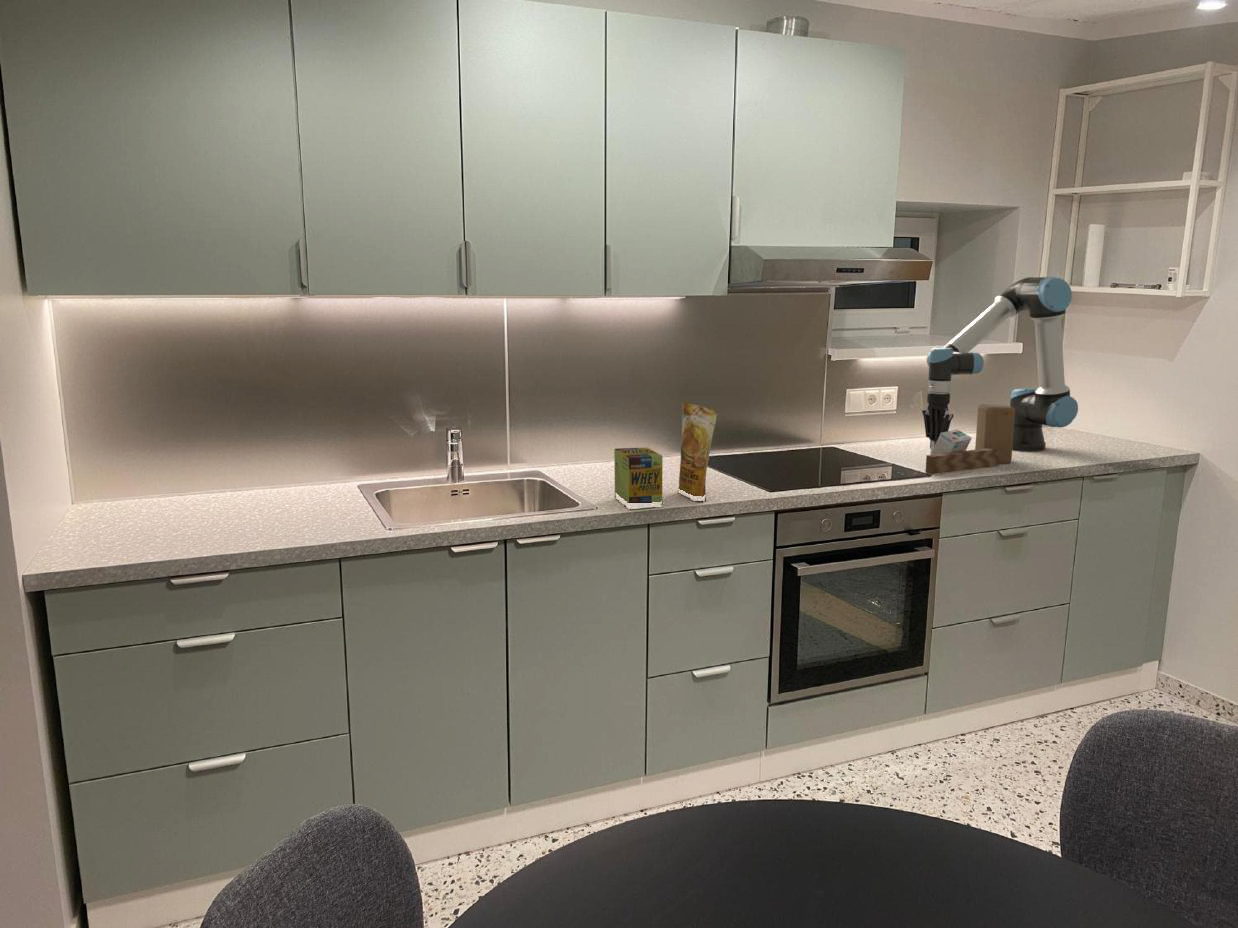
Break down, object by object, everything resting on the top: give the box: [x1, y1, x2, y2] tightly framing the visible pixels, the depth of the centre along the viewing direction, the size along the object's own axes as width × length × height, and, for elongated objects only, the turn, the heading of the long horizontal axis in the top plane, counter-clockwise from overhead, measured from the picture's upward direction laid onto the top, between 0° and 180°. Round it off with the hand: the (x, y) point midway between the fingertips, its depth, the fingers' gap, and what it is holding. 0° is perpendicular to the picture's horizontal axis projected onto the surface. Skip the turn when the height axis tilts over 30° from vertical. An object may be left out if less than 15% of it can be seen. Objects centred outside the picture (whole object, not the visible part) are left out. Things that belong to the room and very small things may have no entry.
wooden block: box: [974, 403, 1015, 465], centre depth 328 cm, size 10×10×20 cm
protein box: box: [613, 446, 664, 503], centre depth 272 cm, size 10×15×16 cm
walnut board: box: [925, 448, 999, 475], centre depth 316 cm, size 30×3×6 cm, turn 115°
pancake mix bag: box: [678, 401, 719, 497], centre depth 278 cm, size 7×19×28 cm, turn 21°
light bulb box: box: [930, 428, 973, 455], centre depth 322 cm, size 11×7×11 cm, turn 130°
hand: (934, 458), depth 328 cm, fingers closed
